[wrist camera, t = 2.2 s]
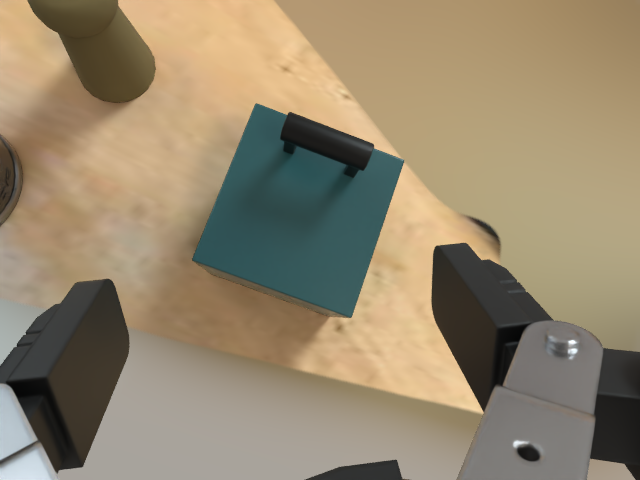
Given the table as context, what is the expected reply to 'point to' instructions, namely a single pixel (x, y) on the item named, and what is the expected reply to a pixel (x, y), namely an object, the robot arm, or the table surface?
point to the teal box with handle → (300, 210)
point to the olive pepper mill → (100, 46)
